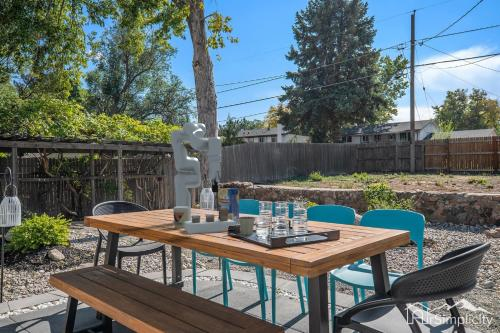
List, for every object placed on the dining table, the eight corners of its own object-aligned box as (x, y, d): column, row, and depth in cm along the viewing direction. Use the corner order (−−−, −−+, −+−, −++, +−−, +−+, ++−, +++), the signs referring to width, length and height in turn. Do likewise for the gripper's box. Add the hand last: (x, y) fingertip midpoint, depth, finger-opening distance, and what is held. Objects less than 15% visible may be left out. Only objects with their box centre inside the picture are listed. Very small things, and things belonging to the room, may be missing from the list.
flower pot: (258, 233, 204) (258, 216, 204) (252, 236, 195) (252, 219, 196) (241, 232, 208) (241, 216, 208) (235, 235, 199) (235, 218, 199)
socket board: (184, 230, 215) (184, 221, 215) (228, 227, 225) (228, 219, 225) (189, 233, 204) (189, 224, 204) (235, 230, 214) (235, 221, 214)
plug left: (191, 230, 213) (191, 215, 213) (198, 229, 214) (198, 215, 214) (193, 231, 209) (193, 216, 209) (200, 230, 211) (200, 215, 211)
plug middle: (205, 229, 216) (205, 214, 216) (212, 228, 217) (212, 214, 217) (207, 230, 212) (207, 215, 212) (214, 229, 214) (214, 215, 214)
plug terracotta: (219, 221, 219) (219, 207, 219) (225, 220, 220) (225, 206, 220) (221, 222, 215) (221, 207, 215) (228, 221, 217) (228, 207, 217)
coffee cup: (169, 227, 226) (169, 207, 226) (179, 225, 234) (179, 206, 234) (182, 228, 221) (182, 207, 221) (192, 226, 230) (192, 206, 230)
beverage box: (226, 222, 246) (225, 188, 246) (239, 224, 239) (238, 188, 240) (218, 224, 241) (218, 188, 241) (231, 225, 234) (231, 189, 234)
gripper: (204, 159, 222) (205, 191, 222) (211, 158, 208) (212, 193, 208) (217, 159, 224) (217, 191, 224) (225, 158, 211) (225, 192, 210)
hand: (215, 192), depth 216 cm, fingers closed
